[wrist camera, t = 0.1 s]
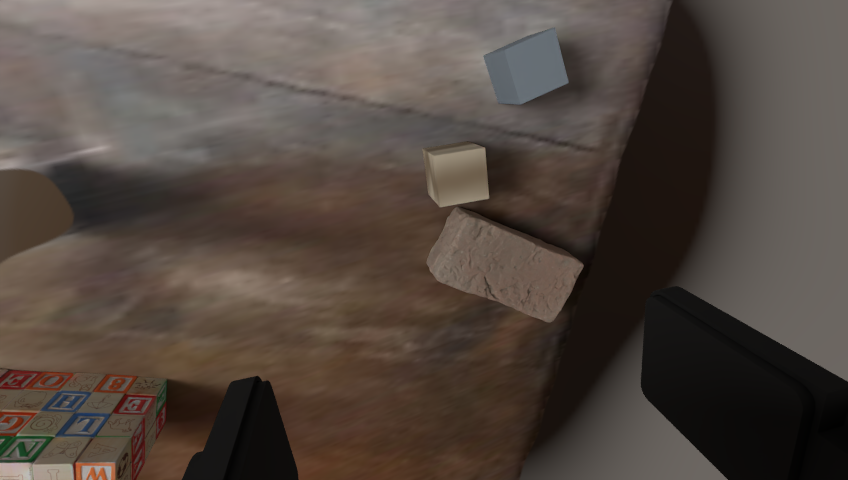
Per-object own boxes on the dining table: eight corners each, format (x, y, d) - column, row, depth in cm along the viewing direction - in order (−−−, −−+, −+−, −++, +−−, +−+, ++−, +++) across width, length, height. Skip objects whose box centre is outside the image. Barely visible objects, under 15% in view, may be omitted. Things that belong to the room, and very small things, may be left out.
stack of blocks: (-54, 413, 45) (-190, 522, 33) (-61, 363, 43) (-208, 460, 32) (167, 421, 50) (115, 519, 38) (169, 377, 48) (115, 465, 37)
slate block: (483, 55, 43) (503, 50, 37) (527, 36, 43) (554, 27, 38) (498, 103, 45) (520, 104, 39) (540, 84, 45) (568, 82, 39)
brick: (423, 266, 50) (431, 283, 45) (453, 201, 48) (465, 212, 43) (537, 307, 54) (554, 326, 50) (569, 250, 53) (590, 264, 48)
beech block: (422, 148, 45) (433, 155, 39) (467, 141, 45) (485, 147, 40) (428, 193, 47) (440, 207, 41) (471, 186, 47) (489, 198, 42)
